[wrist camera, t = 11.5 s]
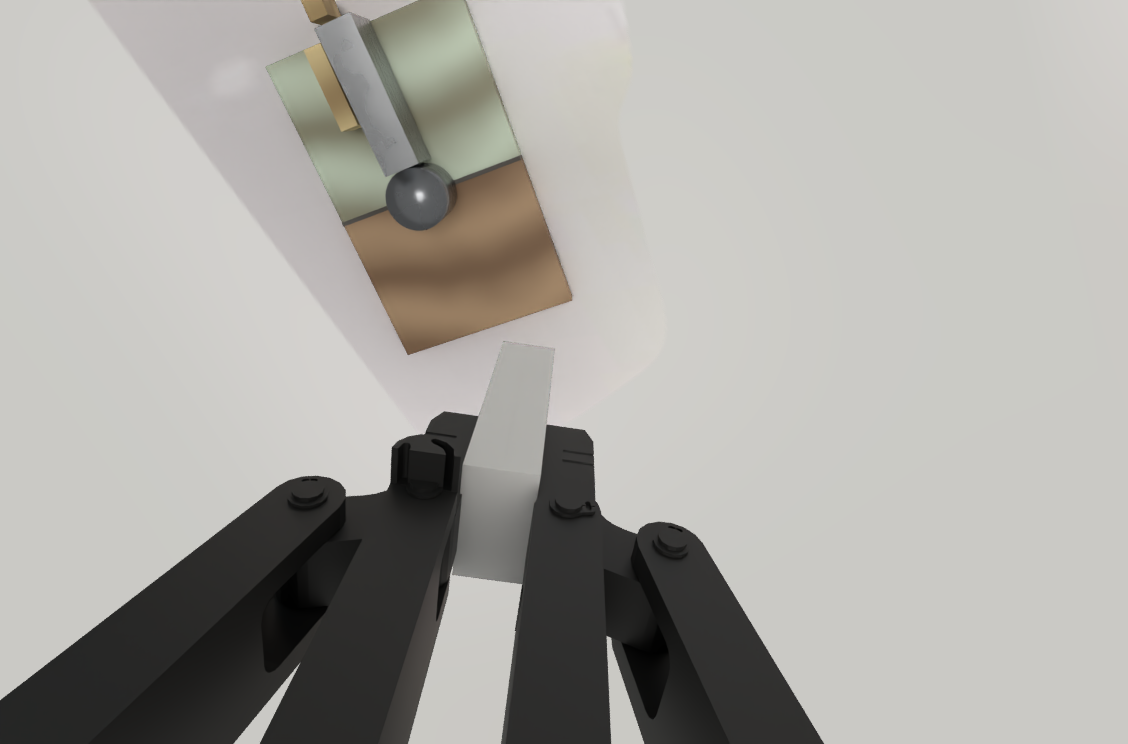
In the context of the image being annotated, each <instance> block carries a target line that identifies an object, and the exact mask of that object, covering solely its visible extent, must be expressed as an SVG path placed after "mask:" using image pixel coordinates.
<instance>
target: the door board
mask: <svg viewBox="0 0 1128 744" xmlns="http://www.w3.org/2000/svg"><path fill="white" fill-rule="evenodd" d="M301 2H302V4H303V6H304V8H305V11H306V13H307V15H308V17H309V19H310V22H313V23H316V24H319V25H323V24H325V23H328V22H330V21H332V20H334V19H336V18H338V17H340V16H341V14H340V12H339V10H338V8H337V5H336V3H335V1H334V0H301ZM370 22H371V24H372V26H373V28H374V31H375V33H376V35H377V37H378V40H379V42H380V44H381V46H382V49H383V51H384V53H385V55H386V58H387V60H388V62H389V64H390V67H391V69H392V71H393V73H394V76H395V78H396V80H397V82H398V85H399V87H400V89H401V91H402V94H403V96H404V98H405V100H406V103H407V105H408V107H409V109H410V112H411V114H412V116H413V118H414V120H415V123H416V125H417V127H418V129H419V132H420V134H421V136H422V138H423V141H424V143H425V145H426V147H427V150H428V152H429V154H430V156H431V159H429V160H427V161H424V162H422V163H432V164H436V165H438V166H440V167H442V168H443V169H445V170H446V171H447V172H448V173H449V174H450V176H451V177H452V179H453V181H454V183H455V185H456V190H457V199H456V203H455V206H454V208H453V209H452V211H451V212H450V213H449V214H448V215H447V216H446V217H445V218H444V219H442V220H441V221H440V222H439V223H438V224H437V225H435V226H434V227H432V228H430V229H427V230H423V231H415V230H410V229H407V228H405V227H403V226H402V225H400V224H399V223H398V222H397V221H396V220H395V219H394V218H393V217H392V216H391V214H390V212H389V210H388V208H387V204H386V198H385V194H386V188H387V185H388V183H389V181H390V180H391V178H392V177H393V176H394V175H395V174H396V173H395V174H393V175H390V176H387V177H385V175H384V173H383V171H382V169H381V167H380V165H379V163H378V161H377V159H376V157H375V154H374V152H373V150H372V148H371V146H370V144H369V142H368V140H367V138H366V136H365V134H364V132H363V129H362V127H361V125H360V123H359V121H358V119H357V117H356V115H355V113H354V111H353V109H352V106H351V104H350V102H349V100H348V98H347V96H346V94H345V92H344V90H343V88H342V86H341V84H340V81H339V79H338V77H337V75H336V73H335V71H334V69H333V67H332V65H331V63H330V61H329V59H328V56H327V54H326V52H325V50H324V48H323V46H322V44H321V43H319V44H317V45H314V46H312V47H310V48H307V49H305V50H303V51H301V52H299V53H296V54H294V55H292V56H289V57H287V58H285V59H282V60H280V61H278V62H276V63H273V64H271V65H269V66H266V69H267V71H268V73H269V75H270V77H271V79H272V81H273V83H274V85H275V87H276V89H277V91H278V93H279V95H280V97H281V99H282V101H283V103H284V105H285V107H286V109H287V112H288V114H289V116H290V118H291V120H292V122H293V124H294V126H295V128H296V130H297V132H298V134H299V136H300V138H301V140H302V142H303V144H304V146H305V148H306V150H307V152H308V154H309V156H310V158H311V160H312V162H313V164H314V166H315V168H316V170H317V172H318V174H319V176H320V178H321V180H322V182H323V184H324V186H325V188H326V190H327V192H328V194H329V196H330V198H331V201H332V203H333V205H334V207H335V209H336V211H337V213H338V215H339V217H340V219H341V221H342V224H343V226H344V227H345V229H346V231H347V233H348V235H349V237H350V239H351V241H352V243H353V245H354V247H355V249H356V251H357V253H358V255H359V257H360V259H361V261H362V263H363V265H364V267H365V269H366V271H367V273H368V275H369V277H370V279H371V281H372V283H373V285H374V287H375V289H376V292H377V294H378V296H379V298H380V300H381V302H382V304H383V306H384V308H385V310H386V312H387V314H388V316H389V318H390V320H391V322H392V324H393V326H394V328H395V330H396V332H397V334H398V336H399V338H400V340H401V342H402V344H403V346H404V348H405V350H406V352H407V354H408V355H410V354H413V353H416V352H419V351H422V350H425V349H428V348H431V347H434V346H437V345H440V344H443V343H446V342H449V341H452V340H455V339H458V338H461V337H464V336H467V335H470V334H473V333H476V332H479V331H482V330H485V329H488V328H491V327H494V326H497V325H500V324H503V323H506V322H509V321H512V320H515V319H518V318H521V317H524V316H527V315H530V314H533V313H536V312H539V311H542V310H545V309H548V308H551V307H554V306H557V305H560V304H563V303H566V302H569V301H572V294H571V291H570V288H569V286H568V283H567V280H566V277H565V275H564V272H563V269H562V266H561V263H560V261H559V258H558V255H557V252H556V250H555V247H554V244H553V241H552V239H551V236H550V233H549V230H548V227H547V225H546V222H545V219H544V216H543V214H542V211H541V208H540V205H539V203H538V200H537V197H536V194H535V191H534V189H533V186H532V183H531V180H530V178H529V175H528V172H527V169H526V166H525V164H524V161H523V158H522V155H521V153H520V150H519V147H518V144H517V142H516V139H515V136H514V133H513V130H512V128H511V125H510V122H509V119H508V117H507V114H506V111H505V108H504V105H503V103H502V100H501V97H500V94H499V92H498V89H497V86H496V83H495V81H494V78H493V75H492V72H491V69H490V67H489V64H488V61H487V58H486V56H485V53H484V50H483V47H482V45H481V42H480V39H479V36H478V33H477V31H476V28H475V25H474V22H473V20H472V17H471V14H470V11H469V8H468V6H467V3H466V0H418V1H416V2H414V3H412V4H409V5H407V6H405V7H402V8H400V9H398V10H395V11H393V12H391V13H389V14H386V15H384V16H382V17H379V18H377V19H375V20H372V21H370ZM419 164H421V163H419Z"/></svg>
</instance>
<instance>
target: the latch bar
mask: <svg viewBox="0 0 1128 744" xmlns="http://www.w3.org/2000/svg"><path fill="white" fill-rule="evenodd" d="M315 31H316V34H317V36H318V38H319V40H320V42H321V44H322V46H323V48H324V50H325V52H326V54H327V56H328V59H329V61H330V63H331V65H332V67H333V69H334V71H335V73H336V75H337V77H338V79H339V81H340V84H341V86H342V88H343V90H344V92H345V94H346V96H347V98H348V100H349V102H350V104H351V106H352V109H353V111H354V113H355V115H356V117H357V119H358V121H359V123H360V125H361V127H362V129H363V132H364V134H365V136H366V138H367V140H368V142H369V144H370V146H371V148H372V150H373V152H374V154H375V157H376V159H377V161H378V163H379V165H380V167H381V169H382V171H383V173H384V175H385V177H387V176H390V175H393V174H395V173H396V174H395V175H394V176H393V177H392V178H391V180H390V181H389V183H388V185H387V188H386V194H385V198H386V204H387V208H388V210H389V212H390V214H391V216H392V217H393V218H394V219H395V220H396V221H397V222H398V223H399V224H400V225H402V226H403V227H405V228H407V229H410V230H415V231H423V230H427V229H430V228H432V227H434V226H435V225H437V224H438V223H439V222H440V221H441V220H442V219H444V218H445V217H446V216H447V215H448V214H449V213H450V212H451V211H452V209H453V208H454V206H455V203H456V199H457V190H456V185H455V183H454V181H453V179H452V177H451V176H450V174H449V173H448V172H447V171H446V170H445V169H443V168H442V167H440V166H438V165H436V164H432V163H422V162H424V161H427V160H429V159H431V156H430V154H429V152H428V150H427V147H426V145H425V143H424V141H423V138H422V136H421V134H420V132H419V129H418V127H417V125H416V123H415V120H414V118H413V116H412V114H411V112H410V109H409V107H408V105H407V103H406V100H405V98H404V96H403V94H402V91H401V89H400V87H399V85H398V82H397V80H396V78H395V76H394V73H393V71H392V69H391V67H390V64H389V62H388V60H387V58H386V55H385V53H384V51H383V49H382V46H381V44H380V42H379V40H378V37H377V35H376V33H375V31H374V28H373V26H372V24H371V22H370V20H369V19H366V18H364V17H361V16H359V15H356V14H354V13H351V12H349V13H346V14H344V15H342V16H340V17H338V18H336V19H334V20H332V21H330V22H328V23H325V24H323V25H321V26H319V27H317V28H315ZM419 163H421V164H419Z"/></svg>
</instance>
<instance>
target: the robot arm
mask: <svg viewBox="0 0 1128 744" xmlns="http://www.w3.org/2000/svg"><path fill="white" fill-rule="evenodd" d="M554 351H555V349H553V348H546V347H539V346H533V345H526V344H519V343H512V342H506V341H504V342H503V345H502V348H501V351H500V354H499V357H498V360H497V363H496V366H495V369H494V372H493V375H492V378H491V381H490V384H489V387H488V390H487V393H486V396H485V399H484V402H483V405H482V408H481V411H480V414H479V416H473V415H466V414H459V413H452V412H445V411H444V412H443V413H441V414H440V415H438V416H437V417H435V418H434V419H432V420H431V422H430V424H429V426H428V428H427V430H426V433H425V434H424V435H422V434H421V435H415V436H409V437H406V438H404V439H402V440H399V441H398V442H397V443H396V444H395V445H394V446H393V447H392V457H391V483H390V485H389V488H388V490H387V491H384V492H380V493H377V494H371V495H364V496H349V497H346V496H345V495H346V494H345V493H346V490H345V489H344V487H343V486H342V485H341V484H340V483H339V482H337V481H335V480H333V479H331V478H327V477H321V476H305V477H299V478H296V479H292V480H289V481H287V482H285V483H283V484H281V485H279V486H278V487H276V488H275V489H274V490H272V491H271V492H270V493H268V494H267V495H266V496H264V497H263V498H262V499H261V500H259V501H258V502H257V503H255V504H254V505H253V506H252V507H250V508H249V509H248V510H246V511H245V512H244V513H242V514H241V515H240V516H239V517H237V518H236V519H235V520H233V521H232V522H231V523H229V524H228V525H227V526H226V527H224V528H223V529H222V530H220V531H219V532H218V533H217V534H215V535H214V536H213V537H211V538H210V539H209V540H208V541H206V542H205V543H204V544H202V545H201V546H200V547H198V548H197V549H196V550H194V551H193V552H192V553H191V554H189V555H188V556H187V557H185V558H184V559H183V560H182V561H180V562H179V563H178V564H176V565H175V566H174V567H173V568H171V569H170V570H169V571H167V572H166V573H165V574H163V575H162V576H161V577H159V578H158V579H157V580H156V581H155V582H153V583H152V584H150V585H149V586H148V587H146V588H145V589H144V590H143V591H141V592H140V593H139V594H138V595H136V596H135V597H134V598H132V599H131V600H130V601H128V602H127V603H126V604H124V605H123V606H122V607H121V608H119V609H118V610H117V611H115V612H114V613H113V614H111V615H110V616H109V617H108V618H106V619H105V620H104V621H102V622H101V623H100V624H99V625H97V626H96V627H95V628H93V629H92V630H91V631H89V632H88V633H87V634H86V635H84V636H83V637H82V638H80V639H79V640H78V641H77V642H75V643H74V644H73V645H71V646H70V647H69V648H67V649H66V650H65V651H64V652H62V653H61V654H60V655H58V656H57V657H56V658H55V659H53V660H52V661H50V662H49V663H48V664H47V665H45V666H44V667H43V668H41V669H40V670H39V671H38V672H36V673H35V674H34V675H32V676H31V677H30V678H28V679H27V680H26V681H25V682H23V683H22V684H21V685H20V686H18V687H17V688H16V689H14V690H13V691H12V692H10V693H9V694H8V695H7V696H5V697H4V698H3V699H1V700H0V744H233V743H234V742H235V741H236V740H237V739H238V737H239V736H240V735H241V734H242V733H243V731H244V730H245V729H246V728H247V727H248V725H249V724H250V723H251V722H252V720H253V719H254V718H255V717H256V716H257V714H258V713H259V712H260V711H261V710H262V708H263V707H264V706H265V705H266V703H267V702H268V701H269V700H270V699H271V697H272V696H273V695H274V694H275V692H276V691H277V690H278V689H279V688H280V686H281V685H282V684H283V683H284V681H285V680H286V679H287V678H288V677H289V676H290V674H291V673H292V672H293V671H294V669H295V668H296V667H297V666H298V665H299V663H300V662H301V663H300V665H299V667H298V669H297V671H296V673H295V675H294V677H293V679H292V681H291V682H290V684H289V686H288V689H287V690H286V692H285V695H284V696H283V698H282V700H281V703H280V704H279V706H278V708H277V710H276V712H275V714H274V716H273V718H272V720H271V722H270V724H269V726H268V728H267V730H266V732H265V734H264V736H263V738H262V740H261V742H260V744H408V741H409V738H410V734H411V730H412V726H413V723H414V719H415V715H416V712H417V707H418V704H419V700H420V697H421V692H422V689H423V686H424V682H425V678H426V674H427V671H428V667H429V663H430V660H431V656H432V652H433V649H434V645H435V641H436V637H437V634H438V630H439V626H440V622H441V619H442V615H443V611H444V607H445V604H446V600H447V596H448V591H449V580H450V573H451V569H452V566H453V573H452V575H458V576H465V577H473V578H480V579H487V580H495V581H502V582H510V583H517V584H522V589H521V596H520V602H519V608H518V615H517V621H516V628H515V631H516V633H515V641H514V648H513V656H512V664H511V672H510V679H509V688H508V695H507V703H506V710H505V718H504V726H503V734H502V741H501V744H611V732H610V708H609V686H608V662H607V639H606V636H608V637H611V638H612V647H613V651H614V654H615V657H616V660H617V663H618V666H619V669H620V671H621V674H622V678H623V681H624V683H625V687H626V690H627V693H628V695H629V699H630V702H631V705H632V708H633V711H634V714H635V717H636V720H637V723H638V726H639V728H640V731H641V735H642V738H643V741H644V744H824V743H823V741H822V740H821V738H820V736H819V735H818V733H817V731H816V730H815V728H814V726H813V725H812V723H811V721H810V720H809V718H808V716H807V715H806V713H805V711H804V710H803V708H802V706H801V705H800V703H799V702H798V700H797V698H796V697H795V695H794V693H793V692H792V690H791V688H790V687H789V685H788V683H787V682H786V680H785V678H784V677H783V675H782V673H781V672H780V670H779V668H778V667H777V665H776V664H775V662H774V660H773V659H772V657H771V655H770V654H769V652H768V650H767V649H766V647H765V645H764V644H763V642H762V640H761V639H760V637H759V635H758V634H757V632H756V631H755V629H754V627H753V626H752V624H751V622H750V621H749V619H748V617H747V616H746V614H745V612H744V611H743V609H742V607H741V606H740V604H739V602H738V601H737V599H736V597H735V596H734V594H733V592H732V591H731V589H730V588H729V586H728V584H727V583H726V581H725V579H724V578H723V576H722V574H721V573H720V571H719V569H718V568H717V566H716V564H715V563H714V561H713V559H712V558H711V556H710V554H709V553H708V551H707V550H706V548H705V546H704V545H703V543H702V542H701V541H700V540H699V539H698V537H697V536H696V535H695V534H693V533H691V532H690V531H689V530H687V529H685V528H684V527H681V526H678V525H675V524H672V523H665V522H655V523H648V524H646V525H645V526H643V527H642V528H640V529H639V532H638V534H635V533H632V532H629V531H627V530H624V529H622V528H620V527H618V526H615V525H614V524H612V523H611V522H609V521H607V520H606V519H605V518H604V517H603V516H602V515H601V511H600V508H599V505H598V504H597V502H596V501H595V479H594V456H593V454H594V451H593V441H592V440H591V438H590V437H589V436H588V434H587V433H586V431H585V430H580V429H573V428H566V427H560V426H553V425H546V424H547V415H548V406H549V396H550V387H551V378H552V369H553V360H554Z"/></svg>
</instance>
